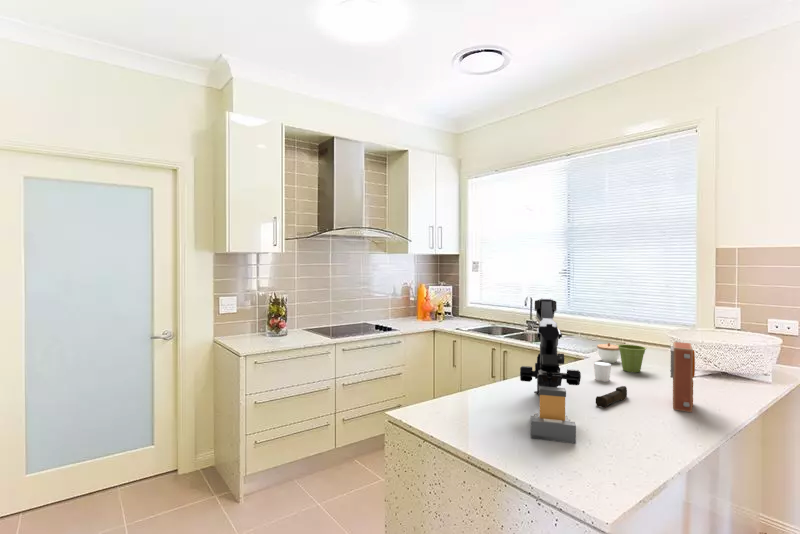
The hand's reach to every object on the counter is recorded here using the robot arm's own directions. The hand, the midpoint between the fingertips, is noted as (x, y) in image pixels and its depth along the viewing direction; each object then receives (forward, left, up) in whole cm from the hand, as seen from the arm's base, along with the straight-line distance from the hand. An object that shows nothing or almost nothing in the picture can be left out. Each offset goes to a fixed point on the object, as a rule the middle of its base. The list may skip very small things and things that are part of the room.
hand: (550, 399), depth 136 cm
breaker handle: (+7, -7, -6) cm, 11 cm away
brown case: (+12, +52, -7) cm, 54 cm away
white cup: (-23, +57, -7) cm, 62 cm away
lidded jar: (-43, +90, -7) cm, 100 cm away
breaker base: (+5, -5, -7) cm, 10 cm away
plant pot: (-26, +82, -7) cm, 87 cm away
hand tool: (-3, +35, -7) cm, 36 cm away
